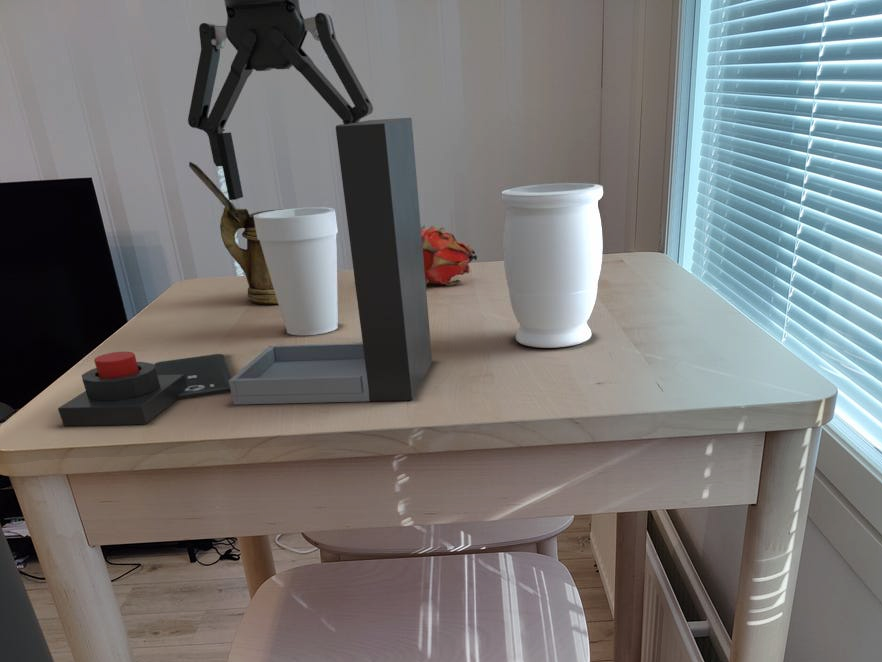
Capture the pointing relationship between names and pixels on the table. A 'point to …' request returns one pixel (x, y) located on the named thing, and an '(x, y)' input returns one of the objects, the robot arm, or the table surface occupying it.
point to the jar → (552, 260)
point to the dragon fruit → (444, 256)
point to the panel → (122, 398)
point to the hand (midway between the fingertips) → (293, 195)
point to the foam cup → (302, 266)
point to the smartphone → (199, 374)
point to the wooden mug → (253, 255)
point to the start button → (116, 364)
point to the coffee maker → (364, 287)
